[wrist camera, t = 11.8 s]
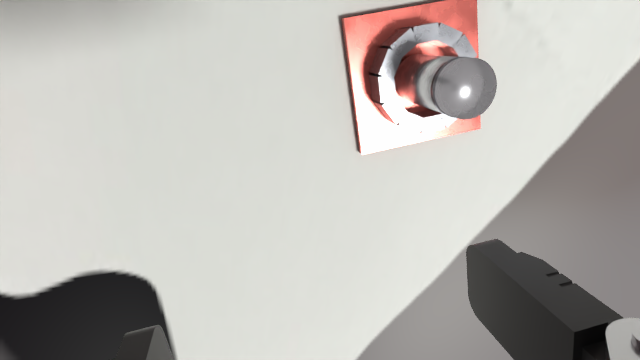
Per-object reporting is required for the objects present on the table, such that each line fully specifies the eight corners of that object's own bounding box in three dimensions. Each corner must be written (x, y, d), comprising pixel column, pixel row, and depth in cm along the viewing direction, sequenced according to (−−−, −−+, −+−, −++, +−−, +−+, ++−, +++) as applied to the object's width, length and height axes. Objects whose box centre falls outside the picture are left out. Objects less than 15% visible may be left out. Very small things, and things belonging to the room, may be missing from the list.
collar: (341, 18, 41) (351, 16, 37) (471, -5, 43) (493, -9, 39) (359, 152, 46) (370, 162, 42) (475, 126, 48) (496, 134, 44)
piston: (391, 58, 42) (438, 64, 33) (437, 48, 43) (496, 51, 34) (397, 107, 44) (443, 126, 35) (441, 97, 45) (498, 112, 36)
